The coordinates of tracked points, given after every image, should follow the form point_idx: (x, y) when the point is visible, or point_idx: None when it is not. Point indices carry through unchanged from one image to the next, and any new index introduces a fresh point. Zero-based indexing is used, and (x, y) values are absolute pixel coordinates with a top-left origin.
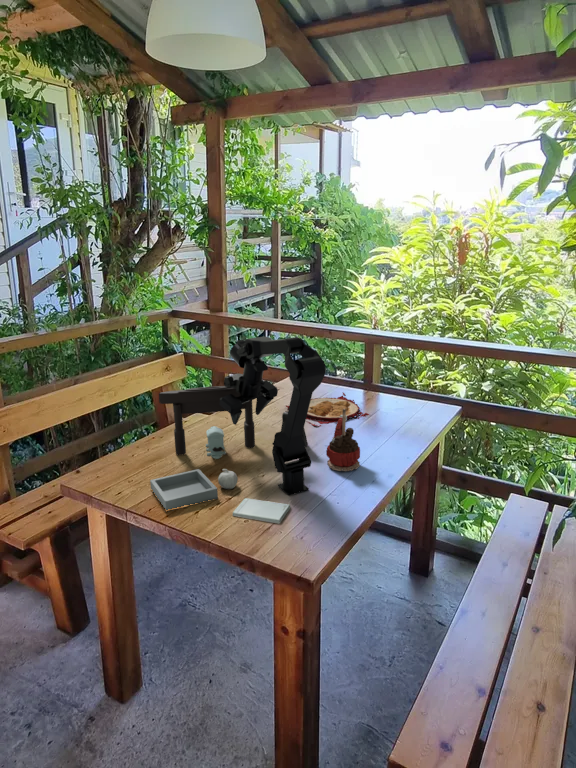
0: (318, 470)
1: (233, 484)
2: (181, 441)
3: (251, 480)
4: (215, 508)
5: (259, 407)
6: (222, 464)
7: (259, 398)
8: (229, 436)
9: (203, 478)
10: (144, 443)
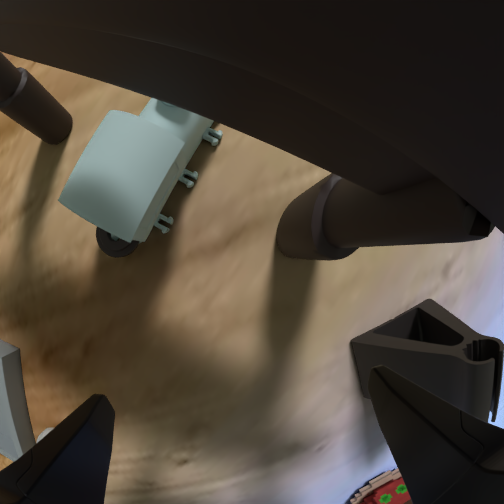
0: (327, 494)
1: None
2: (24, 125)
3: (138, 460)
4: None
5: (405, 448)
6: (107, 313)
7: (466, 498)
8: None
9: (5, 412)
10: None
